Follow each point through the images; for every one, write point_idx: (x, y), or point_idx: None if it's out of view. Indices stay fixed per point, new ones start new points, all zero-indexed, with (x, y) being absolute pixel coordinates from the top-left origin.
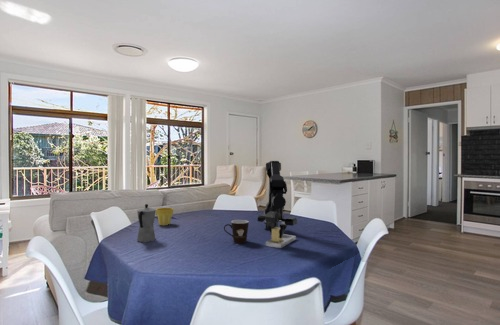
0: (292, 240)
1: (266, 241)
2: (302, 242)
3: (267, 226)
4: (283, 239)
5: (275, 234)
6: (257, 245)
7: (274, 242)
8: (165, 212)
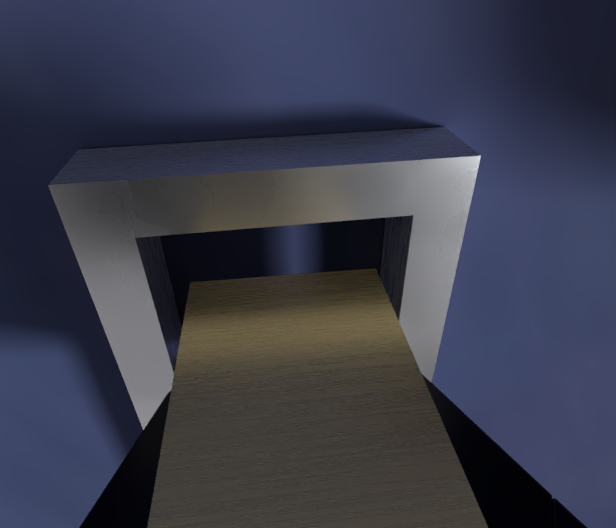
0: None
1: (468, 194)
2: (68, 520)
3: None
4: None
5: (294, 411)
6: (610, 39)
7: None
8: None
